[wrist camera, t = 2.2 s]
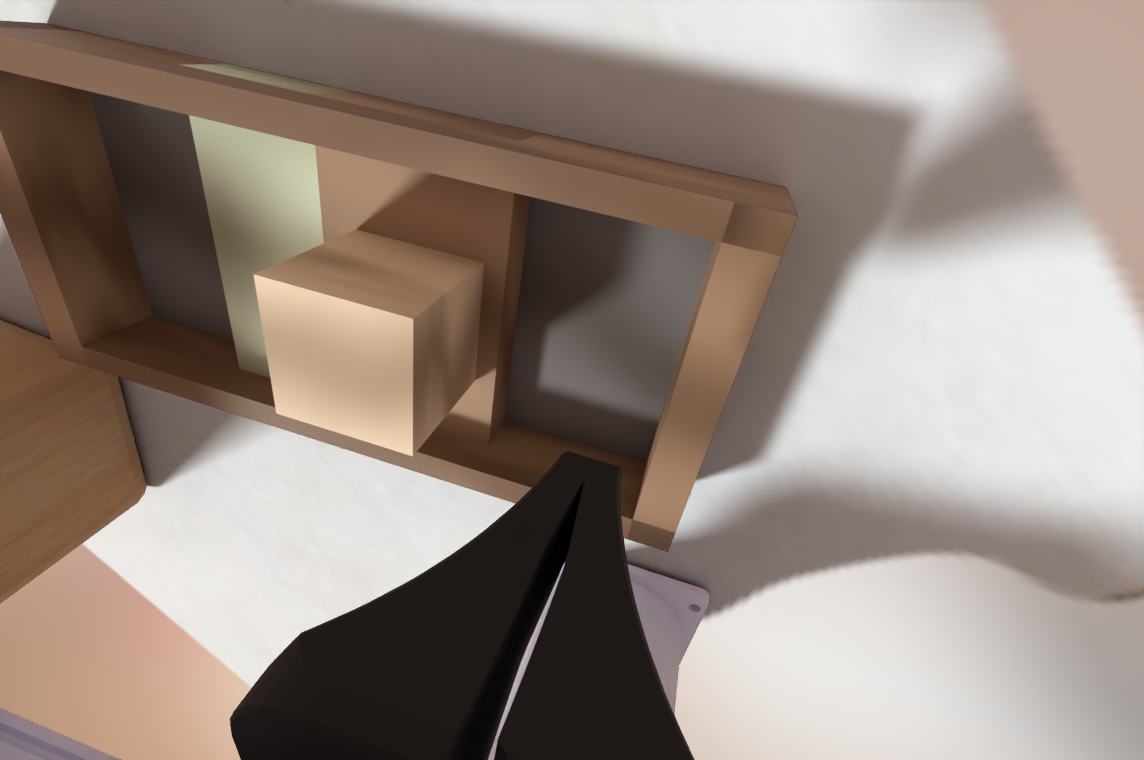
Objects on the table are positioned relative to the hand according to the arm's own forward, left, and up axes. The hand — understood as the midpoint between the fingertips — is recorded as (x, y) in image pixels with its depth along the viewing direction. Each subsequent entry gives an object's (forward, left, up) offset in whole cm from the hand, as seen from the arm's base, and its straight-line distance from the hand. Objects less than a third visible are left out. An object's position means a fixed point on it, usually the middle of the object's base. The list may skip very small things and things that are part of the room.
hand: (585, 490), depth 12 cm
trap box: (0, +10, -8) cm, 13 cm away
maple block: (0, +7, -6) cm, 10 cm away
